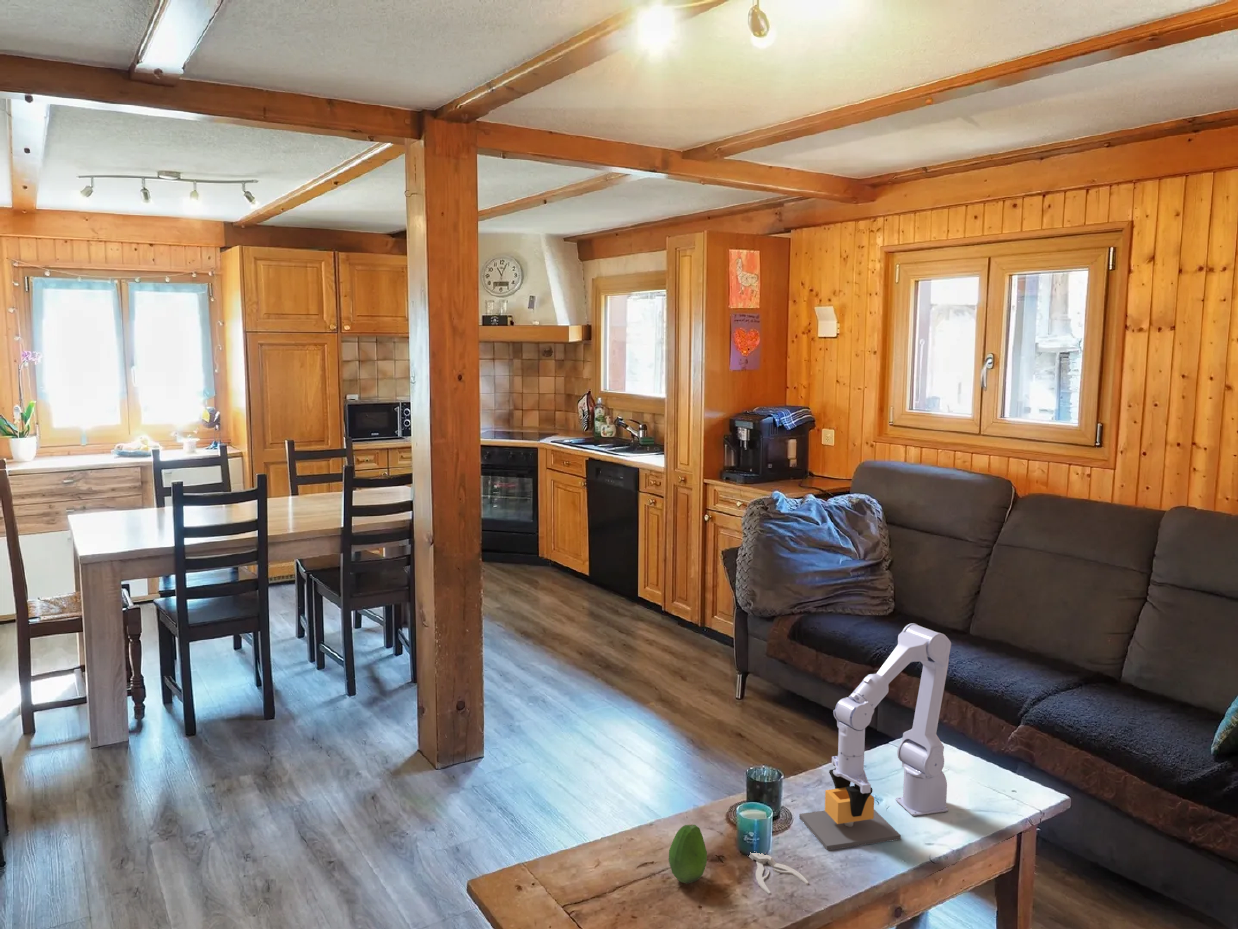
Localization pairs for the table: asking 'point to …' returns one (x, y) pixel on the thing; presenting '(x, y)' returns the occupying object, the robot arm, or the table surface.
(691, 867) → the avocado
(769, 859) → the pliers
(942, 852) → the table surface
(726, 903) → the table surface
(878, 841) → the hook board
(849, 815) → the orange link
